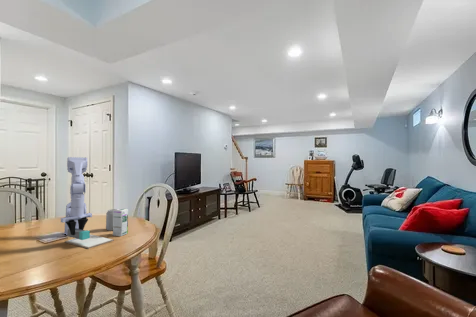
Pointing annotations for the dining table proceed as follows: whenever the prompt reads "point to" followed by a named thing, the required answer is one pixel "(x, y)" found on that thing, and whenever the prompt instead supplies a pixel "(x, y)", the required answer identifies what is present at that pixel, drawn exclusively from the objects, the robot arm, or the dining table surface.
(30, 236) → the dining table surface
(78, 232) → the grey teal rectangular block
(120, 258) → the dining table surface
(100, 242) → the notepad
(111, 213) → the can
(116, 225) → the syrup box
